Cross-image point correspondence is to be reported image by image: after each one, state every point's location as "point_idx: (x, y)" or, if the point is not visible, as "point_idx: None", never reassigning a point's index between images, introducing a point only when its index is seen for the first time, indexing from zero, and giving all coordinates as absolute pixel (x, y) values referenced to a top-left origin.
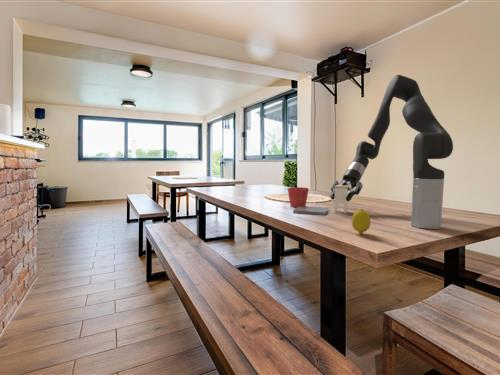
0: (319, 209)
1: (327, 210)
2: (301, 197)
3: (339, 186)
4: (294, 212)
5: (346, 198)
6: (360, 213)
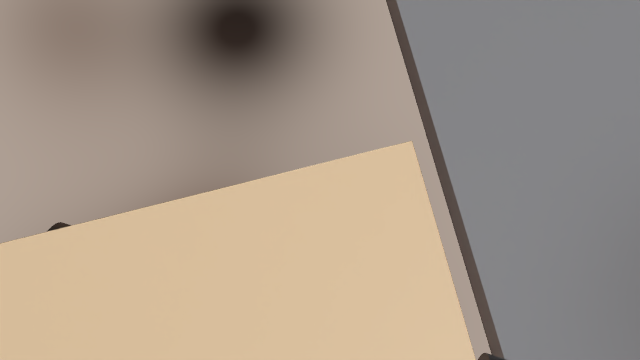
0: (550, 140)
1: (485, 327)
2: None
3: (201, 200)
4: None
5: None
6: None
